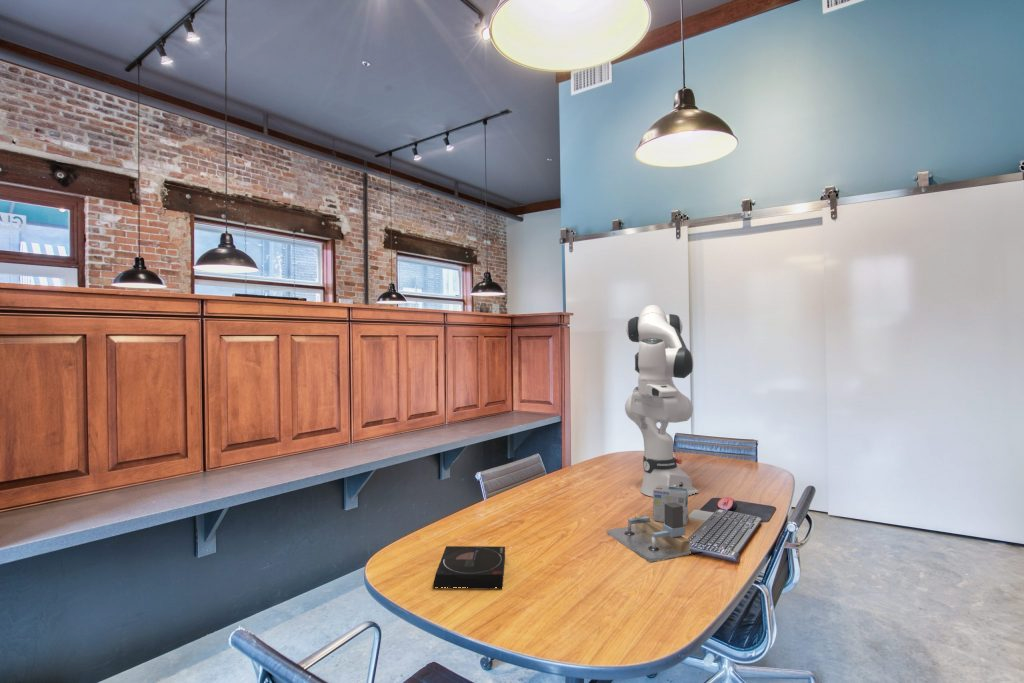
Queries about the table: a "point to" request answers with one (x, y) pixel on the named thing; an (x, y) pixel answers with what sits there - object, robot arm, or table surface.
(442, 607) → the table surface
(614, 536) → the bolt plate
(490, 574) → the portable cd player
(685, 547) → the rail
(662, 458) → the robot arm
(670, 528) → the sliding point
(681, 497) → the light bulb box
